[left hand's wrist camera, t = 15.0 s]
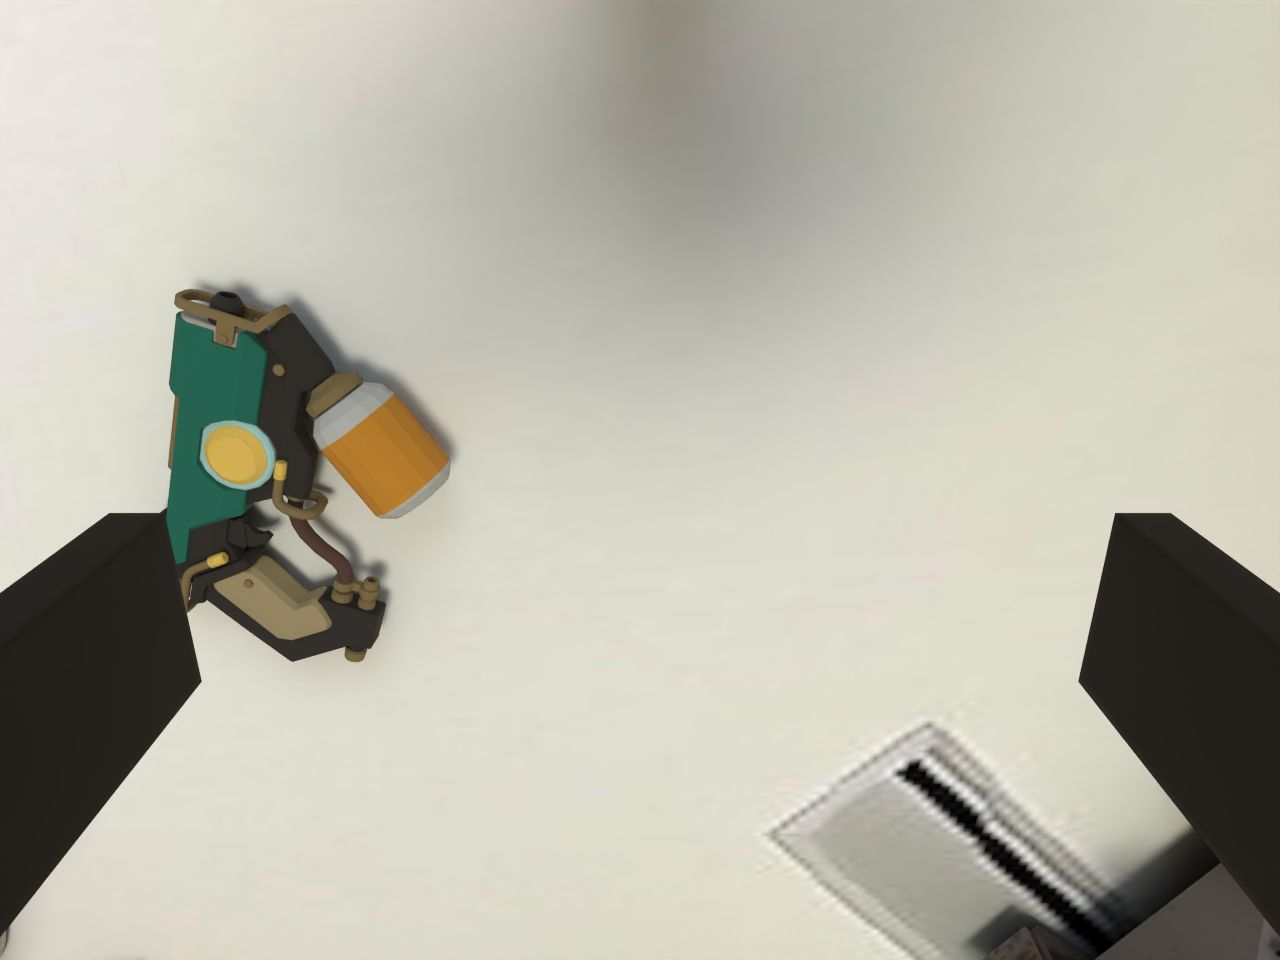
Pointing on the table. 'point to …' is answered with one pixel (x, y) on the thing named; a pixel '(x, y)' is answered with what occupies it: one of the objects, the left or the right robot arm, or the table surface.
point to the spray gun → (279, 470)
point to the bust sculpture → (2, 942)
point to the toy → (1172, 930)
